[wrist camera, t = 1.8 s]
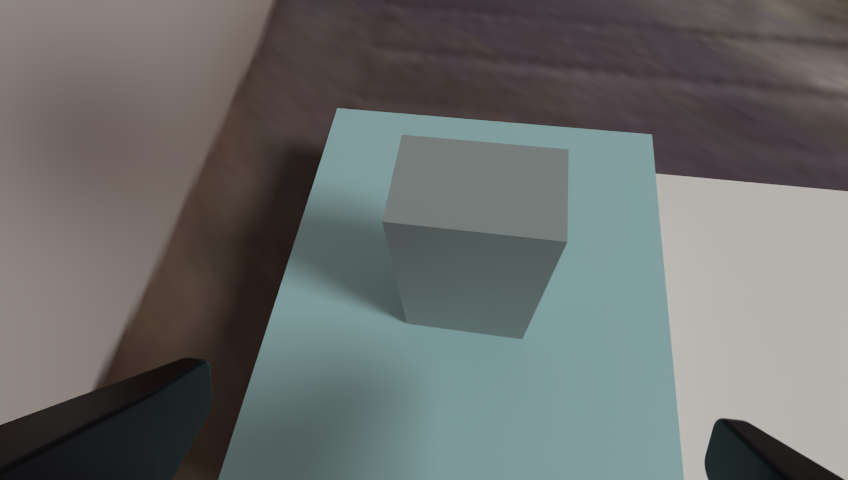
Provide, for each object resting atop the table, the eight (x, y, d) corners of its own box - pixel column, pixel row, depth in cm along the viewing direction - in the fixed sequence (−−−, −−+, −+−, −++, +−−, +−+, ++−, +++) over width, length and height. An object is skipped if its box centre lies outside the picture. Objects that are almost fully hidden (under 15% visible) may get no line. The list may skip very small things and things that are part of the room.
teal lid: (660, 612, 14) (949, 769, 6) (234, 530, 16) (0, 565, 8) (631, 170, 22) (741, -26, 14) (347, 144, 24) (293, -46, 15)
